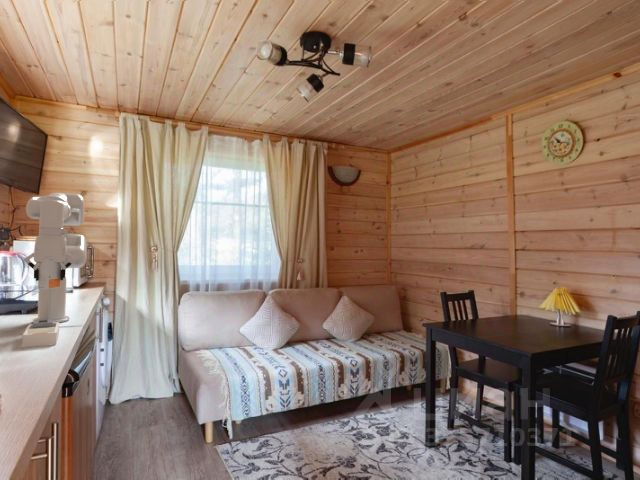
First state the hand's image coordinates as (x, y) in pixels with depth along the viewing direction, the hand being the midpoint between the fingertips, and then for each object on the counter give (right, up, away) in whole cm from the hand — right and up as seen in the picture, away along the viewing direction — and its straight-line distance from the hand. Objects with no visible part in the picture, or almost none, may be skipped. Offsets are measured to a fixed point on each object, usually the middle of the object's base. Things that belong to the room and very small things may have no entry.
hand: (49, 279), depth 148 cm
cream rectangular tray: (+6, -19, -13) cm, 24 cm away
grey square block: (+4, -18, -9) cm, 21 cm away
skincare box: (0, -4, 0) cm, 4 cm away
